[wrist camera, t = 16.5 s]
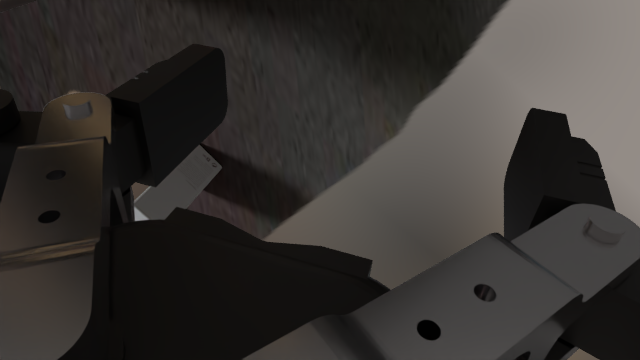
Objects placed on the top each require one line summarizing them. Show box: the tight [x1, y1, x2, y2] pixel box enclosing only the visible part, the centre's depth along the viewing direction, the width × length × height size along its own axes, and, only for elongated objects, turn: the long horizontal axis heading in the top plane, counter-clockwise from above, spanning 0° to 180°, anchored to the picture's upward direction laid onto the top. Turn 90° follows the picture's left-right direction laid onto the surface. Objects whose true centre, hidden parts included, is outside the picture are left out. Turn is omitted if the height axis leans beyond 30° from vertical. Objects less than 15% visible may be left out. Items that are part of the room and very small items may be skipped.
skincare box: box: [134, 145, 222, 221], centre depth 50 cm, size 6×4×12 cm
